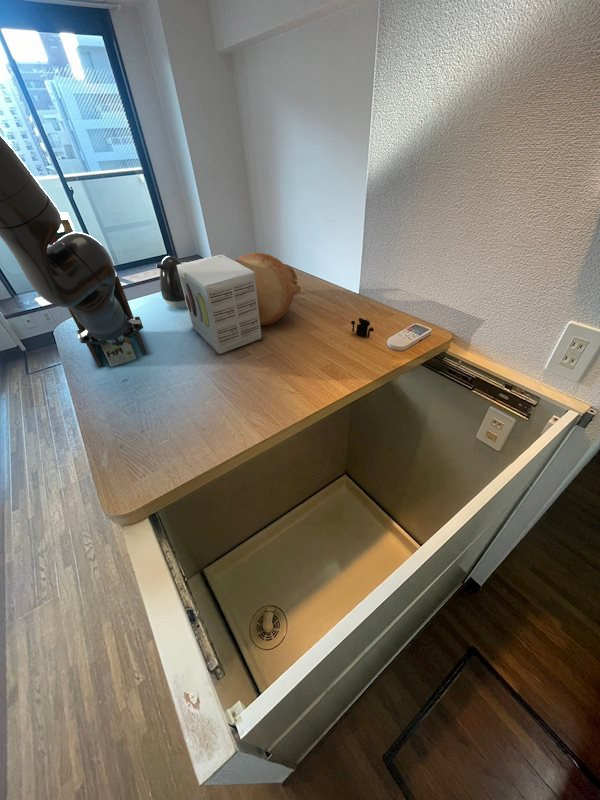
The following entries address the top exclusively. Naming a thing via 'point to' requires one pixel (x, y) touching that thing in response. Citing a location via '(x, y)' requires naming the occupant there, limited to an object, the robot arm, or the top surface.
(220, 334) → the supplement box
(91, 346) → the shelf
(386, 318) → the top surface
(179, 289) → the pump dispenser
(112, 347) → the coffee box
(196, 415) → the top surface
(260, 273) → the jug
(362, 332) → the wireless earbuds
